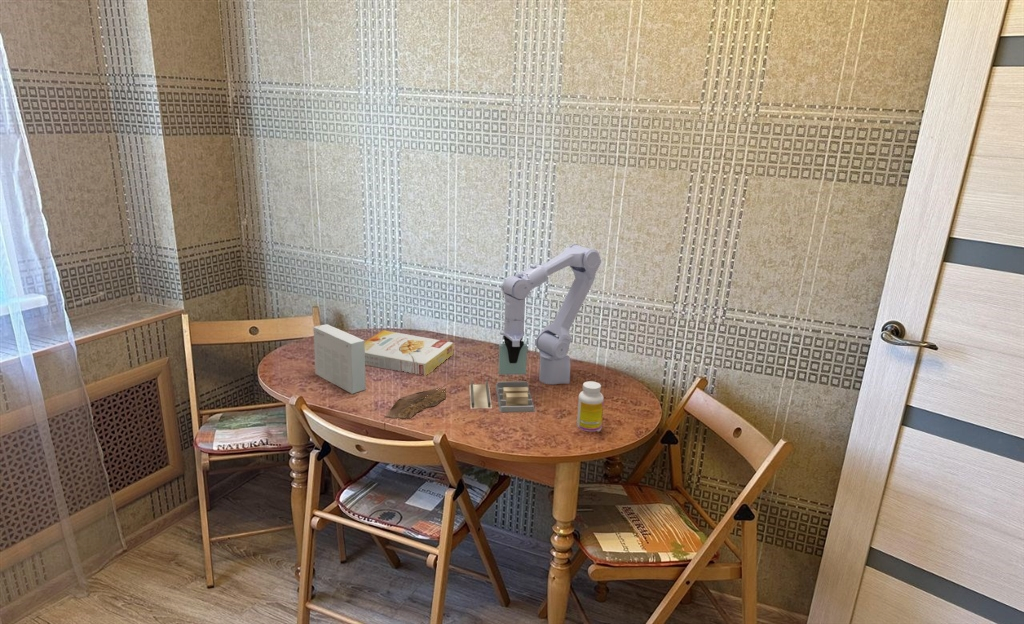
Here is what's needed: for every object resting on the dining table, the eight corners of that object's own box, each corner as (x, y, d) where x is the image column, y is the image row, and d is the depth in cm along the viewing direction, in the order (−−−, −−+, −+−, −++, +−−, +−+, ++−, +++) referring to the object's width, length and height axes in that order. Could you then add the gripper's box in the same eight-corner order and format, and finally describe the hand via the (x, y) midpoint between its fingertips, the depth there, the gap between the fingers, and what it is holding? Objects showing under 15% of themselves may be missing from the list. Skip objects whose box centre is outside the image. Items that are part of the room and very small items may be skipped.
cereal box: (382, 329, 222) (454, 340, 213) (383, 343, 224) (454, 355, 215) (350, 349, 204) (426, 362, 195) (351, 364, 206) (427, 378, 197)
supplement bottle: (604, 433, 165) (608, 389, 161) (581, 435, 163) (584, 391, 159) (596, 421, 171) (599, 378, 167) (573, 423, 169) (576, 380, 165)
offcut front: (526, 405, 177) (527, 392, 176) (527, 409, 174) (528, 396, 173) (505, 406, 176) (506, 393, 175) (506, 410, 174) (506, 397, 173)
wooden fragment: (399, 424, 167) (399, 421, 167) (372, 412, 173) (372, 409, 173) (463, 393, 186) (463, 390, 186) (437, 383, 193) (437, 380, 192)
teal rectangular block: (525, 371, 186) (526, 343, 184) (525, 374, 184) (527, 346, 182) (498, 371, 185) (499, 343, 183) (499, 374, 184) (499, 346, 181)
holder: (488, 387, 190) (488, 379, 189) (491, 411, 175) (492, 403, 174) (469, 387, 190) (469, 380, 189) (470, 411, 175) (470, 403, 174)
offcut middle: (526, 399, 181) (527, 386, 179) (527, 403, 178) (528, 390, 177) (502, 399, 180) (503, 387, 179) (503, 403, 178) (503, 391, 176)
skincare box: (367, 389, 187) (365, 340, 182) (352, 394, 183) (349, 344, 178) (330, 369, 200) (326, 322, 196) (314, 374, 197) (311, 326, 192)
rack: (527, 386, 192) (527, 378, 191) (535, 414, 174) (535, 406, 173) (495, 386, 191) (495, 379, 190) (499, 415, 173) (499, 407, 172)
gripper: (498, 309, 186) (497, 352, 190) (502, 325, 172) (500, 370, 176) (522, 310, 187) (520, 352, 191) (527, 325, 173) (525, 370, 177)
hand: (512, 361), depth 184 cm, fingers closed on teal rectangular block, 2 cm apart
